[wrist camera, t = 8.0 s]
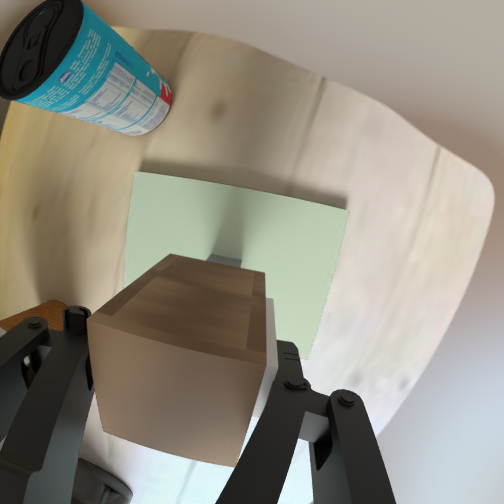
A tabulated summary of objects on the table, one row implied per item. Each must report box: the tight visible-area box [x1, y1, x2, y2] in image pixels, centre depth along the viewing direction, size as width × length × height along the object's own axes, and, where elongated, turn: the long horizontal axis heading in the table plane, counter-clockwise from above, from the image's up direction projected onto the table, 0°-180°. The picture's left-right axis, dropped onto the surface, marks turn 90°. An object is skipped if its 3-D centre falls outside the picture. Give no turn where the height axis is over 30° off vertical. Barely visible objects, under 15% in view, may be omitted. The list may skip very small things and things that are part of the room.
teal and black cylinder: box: [0, 0, 171, 136], centre depth 14 cm, size 6×6×15 cm
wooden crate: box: [87, 253, 267, 467], centre depth 12 cm, size 5×5×9 cm
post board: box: [123, 171, 349, 360], centre depth 21 cm, size 18×14×7 cm
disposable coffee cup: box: [0, 300, 67, 365], centre depth 21 cm, size 10×10×12 cm
